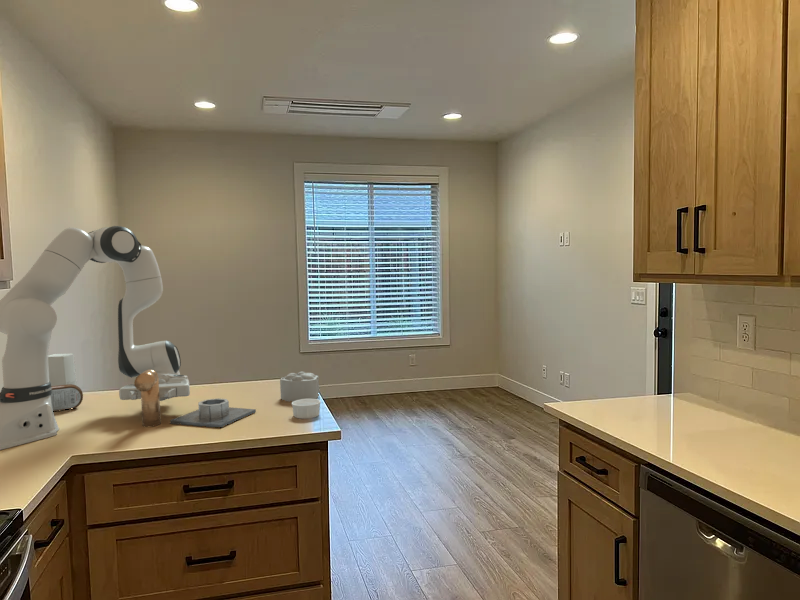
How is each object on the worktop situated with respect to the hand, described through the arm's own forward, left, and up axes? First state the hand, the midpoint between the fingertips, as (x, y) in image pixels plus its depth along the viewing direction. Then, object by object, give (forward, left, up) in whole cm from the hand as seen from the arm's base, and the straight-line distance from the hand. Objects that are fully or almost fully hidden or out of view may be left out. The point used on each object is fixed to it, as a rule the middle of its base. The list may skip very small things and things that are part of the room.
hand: (150, 396), depth 175 cm
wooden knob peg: (-2, -1, -8) cm, 9 cm away
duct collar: (+11, -14, -9) cm, 20 cm away
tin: (+5, +43, -9) cm, 44 cm away
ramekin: (+21, -41, -9) cm, 47 cm away
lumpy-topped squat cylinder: (+41, -27, -9) cm, 50 cm away
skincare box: (+21, +60, -9) cm, 64 cm away
